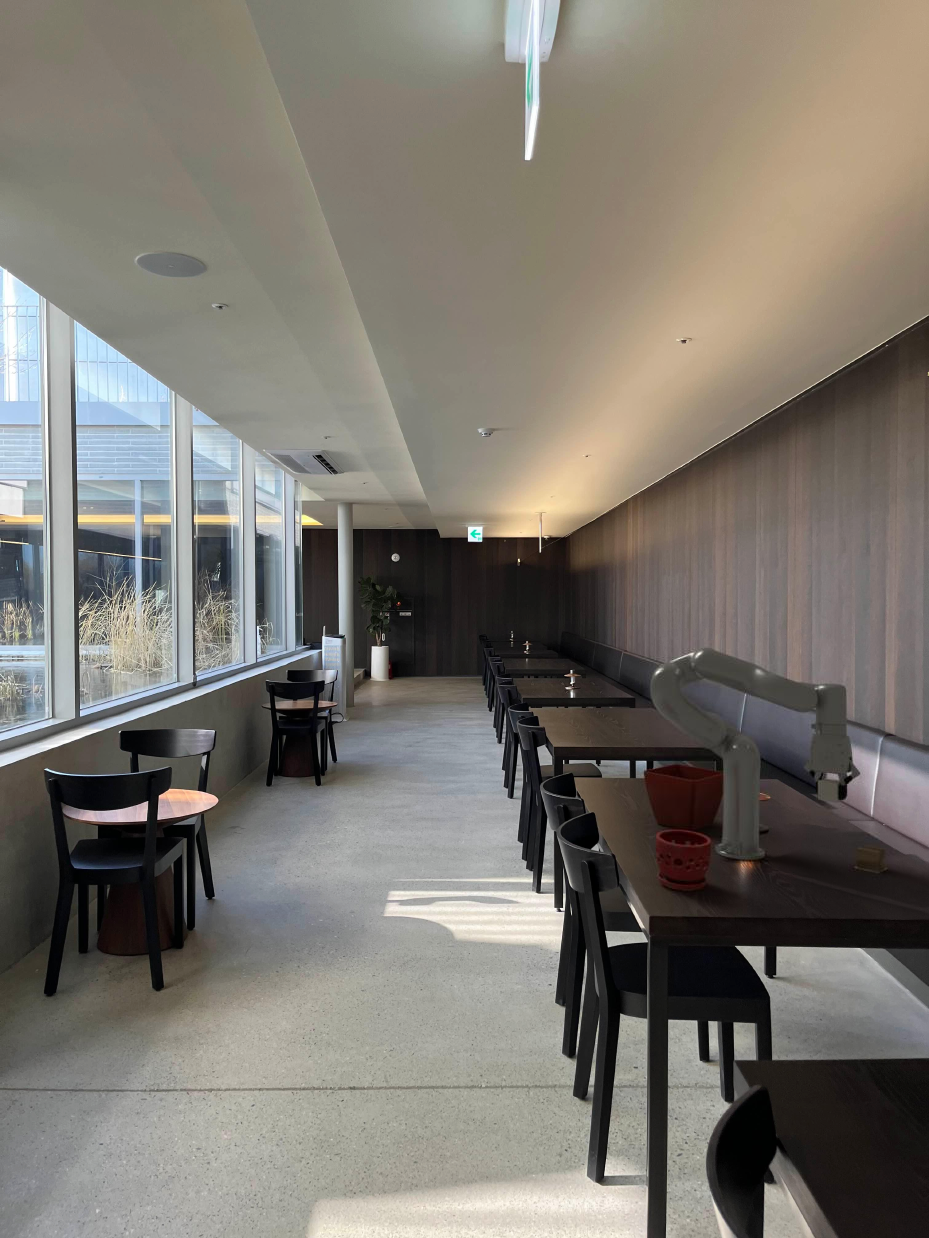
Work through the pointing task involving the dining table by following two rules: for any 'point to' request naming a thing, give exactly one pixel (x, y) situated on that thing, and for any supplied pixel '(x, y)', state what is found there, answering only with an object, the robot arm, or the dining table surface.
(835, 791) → the cream block
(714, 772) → the plant pot
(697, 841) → the plant pot
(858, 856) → the walnut block
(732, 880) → the dining table surface
